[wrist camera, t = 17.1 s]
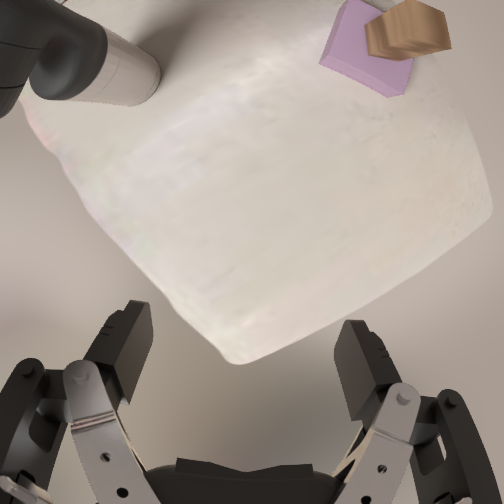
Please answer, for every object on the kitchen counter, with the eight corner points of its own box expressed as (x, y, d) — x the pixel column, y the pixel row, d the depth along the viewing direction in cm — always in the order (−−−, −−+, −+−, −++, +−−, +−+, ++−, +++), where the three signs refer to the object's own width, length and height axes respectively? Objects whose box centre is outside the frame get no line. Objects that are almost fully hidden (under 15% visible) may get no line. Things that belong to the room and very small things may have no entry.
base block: (318, 64, 33) (328, 54, 28) (338, 9, 28) (350, -5, 23) (385, 97, 35) (403, 94, 29) (402, 43, 30) (420, 35, 25)
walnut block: (368, 55, 27) (417, 35, 16) (364, 25, 25) (409, -2, 14) (398, 61, 27) (451, 48, 16) (394, 32, 25) (443, 12, 14)
